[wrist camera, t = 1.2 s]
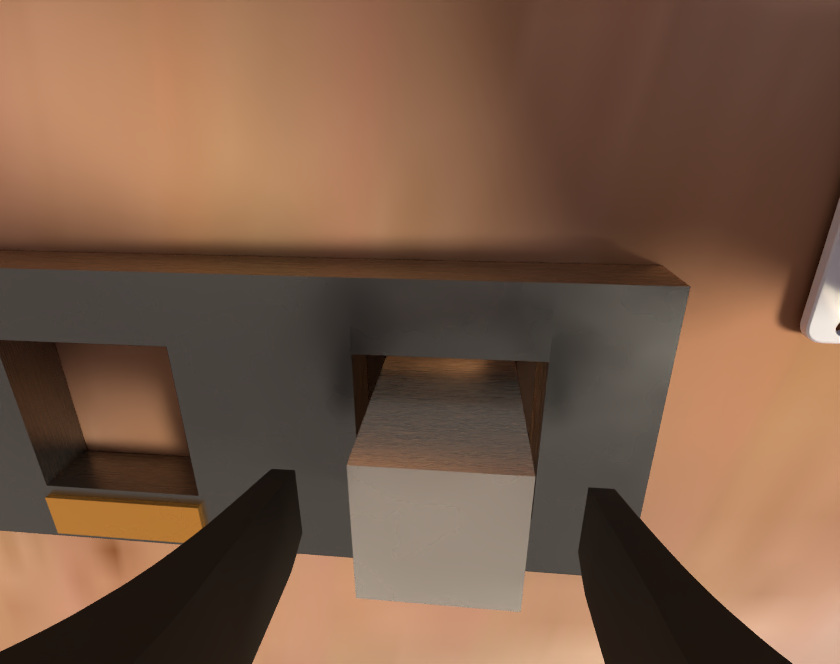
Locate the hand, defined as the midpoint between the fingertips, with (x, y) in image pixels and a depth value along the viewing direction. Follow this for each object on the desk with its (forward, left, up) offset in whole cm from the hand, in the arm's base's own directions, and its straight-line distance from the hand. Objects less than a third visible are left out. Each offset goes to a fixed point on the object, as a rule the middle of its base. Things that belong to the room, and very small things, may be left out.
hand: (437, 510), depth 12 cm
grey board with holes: (+5, 0, -5) cm, 7 cm away
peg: (0, 0, -5) cm, 5 cm away
